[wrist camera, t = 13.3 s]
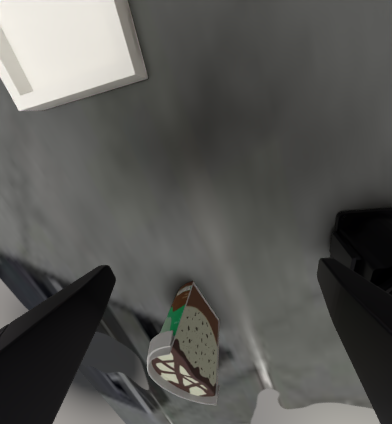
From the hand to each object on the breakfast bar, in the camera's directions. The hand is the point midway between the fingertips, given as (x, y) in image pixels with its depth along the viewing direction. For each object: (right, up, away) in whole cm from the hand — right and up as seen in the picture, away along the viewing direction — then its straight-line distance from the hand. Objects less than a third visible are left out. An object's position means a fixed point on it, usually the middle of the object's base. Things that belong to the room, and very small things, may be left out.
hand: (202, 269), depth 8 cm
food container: (-1, -12, +23) cm, 26 cm away
